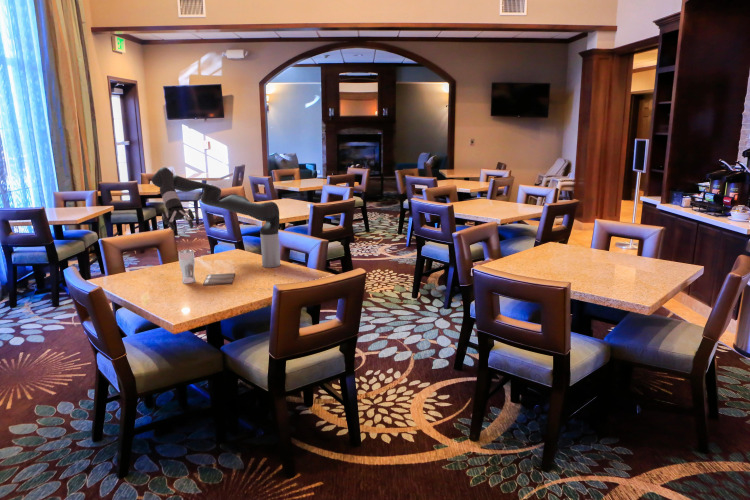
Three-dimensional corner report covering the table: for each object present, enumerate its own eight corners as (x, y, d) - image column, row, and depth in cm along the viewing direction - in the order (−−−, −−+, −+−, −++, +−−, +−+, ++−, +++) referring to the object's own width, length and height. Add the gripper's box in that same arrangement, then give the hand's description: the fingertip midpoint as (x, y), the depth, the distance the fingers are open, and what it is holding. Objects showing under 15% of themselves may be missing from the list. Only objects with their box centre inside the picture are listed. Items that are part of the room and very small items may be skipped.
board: (207, 276, 266) (207, 274, 266) (234, 274, 268) (234, 272, 268) (202, 285, 250) (202, 283, 250) (231, 284, 252) (231, 282, 252)
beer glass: (178, 283, 255) (174, 252, 252) (188, 279, 261) (185, 249, 258) (189, 284, 252) (186, 253, 249) (199, 280, 259) (196, 250, 255)
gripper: (185, 205, 273) (196, 231, 267) (156, 208, 264) (166, 235, 258) (188, 196, 268) (199, 222, 262) (158, 199, 259) (169, 225, 253)
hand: (183, 228), depth 260 cm, fingers open, 8 cm apart
